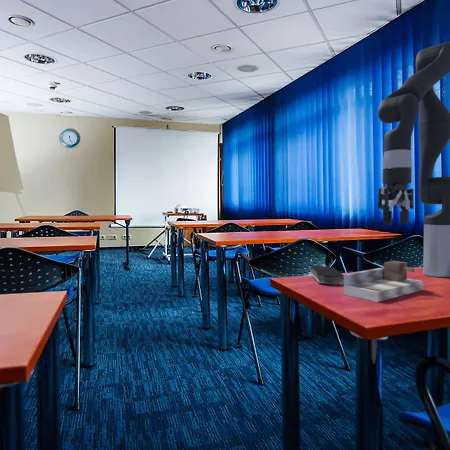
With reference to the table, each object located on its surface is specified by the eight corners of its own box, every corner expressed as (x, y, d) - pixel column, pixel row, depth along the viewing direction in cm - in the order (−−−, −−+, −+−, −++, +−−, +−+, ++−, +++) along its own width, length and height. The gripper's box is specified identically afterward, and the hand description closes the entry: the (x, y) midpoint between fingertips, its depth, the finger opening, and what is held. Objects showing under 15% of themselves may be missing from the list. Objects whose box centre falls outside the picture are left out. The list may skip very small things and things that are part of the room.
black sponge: (309, 275, 127) (309, 265, 127) (333, 275, 127) (333, 265, 127) (318, 286, 111) (318, 274, 111) (346, 286, 111) (346, 274, 110)
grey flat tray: (389, 283, 112) (389, 266, 111) (422, 289, 103) (423, 270, 103) (343, 294, 99) (343, 274, 99) (377, 302, 91) (377, 280, 91)
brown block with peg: (393, 277, 109) (393, 260, 109) (419, 281, 103) (419, 263, 102) (383, 279, 106) (384, 262, 106) (409, 283, 100) (409, 265, 100)
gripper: (398, 170, 111) (397, 223, 112) (370, 167, 103) (369, 224, 104) (423, 167, 105) (421, 224, 106) (395, 164, 97) (394, 225, 98)
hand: (395, 224), depth 105 cm, fingers open, 8 cm apart
